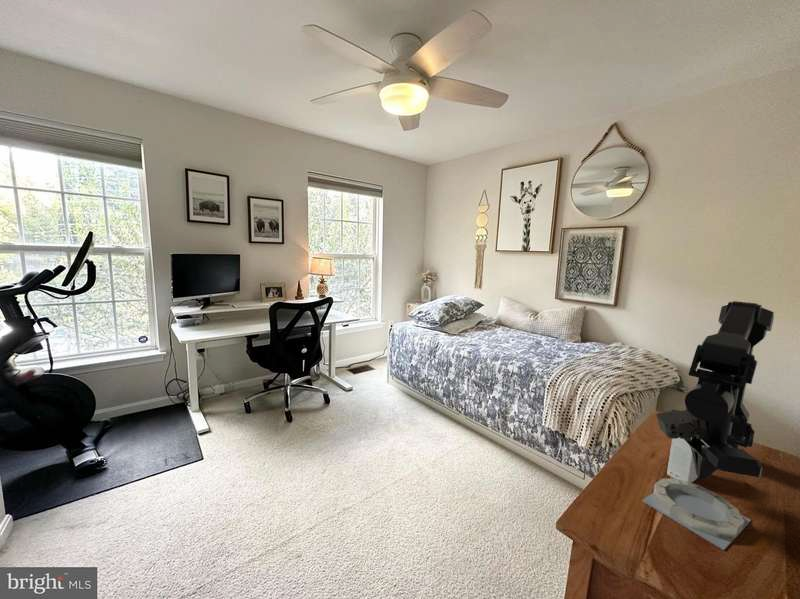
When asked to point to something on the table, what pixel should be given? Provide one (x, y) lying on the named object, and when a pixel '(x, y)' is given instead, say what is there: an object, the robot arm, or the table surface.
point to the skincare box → (681, 461)
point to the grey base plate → (698, 509)
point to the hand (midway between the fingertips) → (700, 477)
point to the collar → (702, 524)
